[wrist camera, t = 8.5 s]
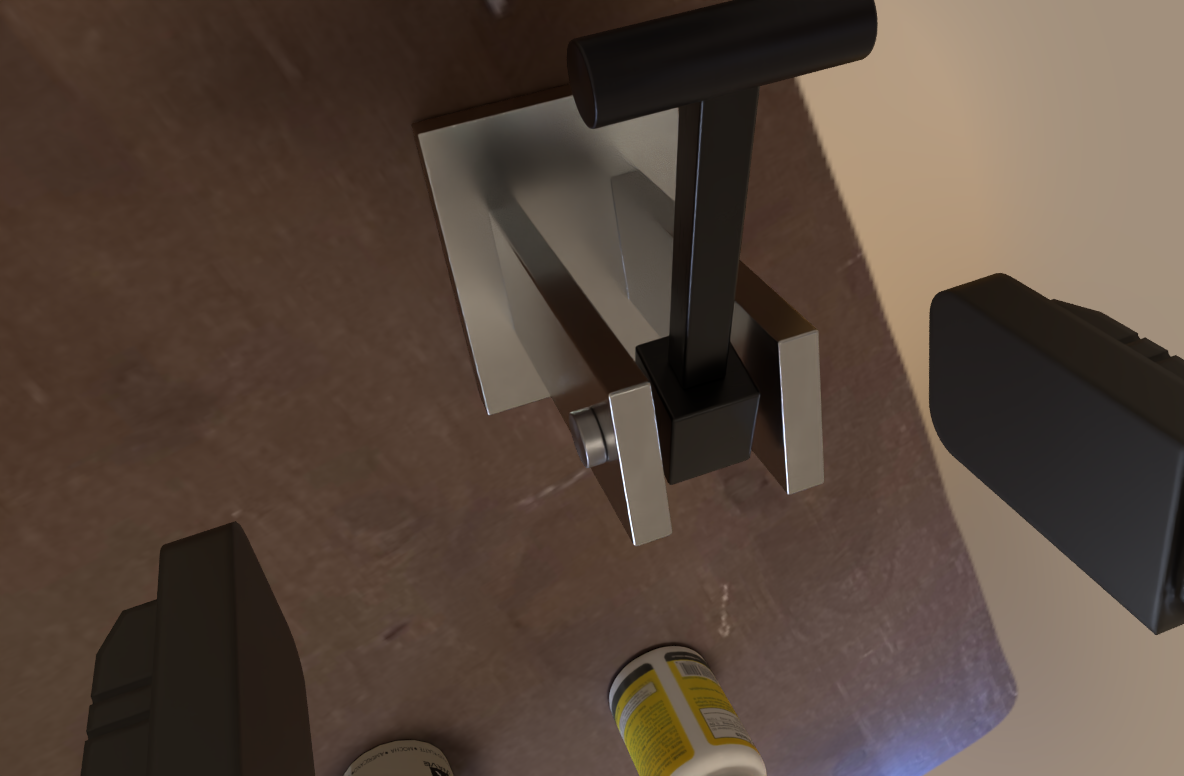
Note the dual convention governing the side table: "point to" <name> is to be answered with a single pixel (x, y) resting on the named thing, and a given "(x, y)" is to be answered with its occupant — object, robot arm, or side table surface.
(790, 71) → the lever
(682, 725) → the supplement bottle
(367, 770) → the coffee cup
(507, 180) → the bracket
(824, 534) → the side table surface
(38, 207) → the side table surface
